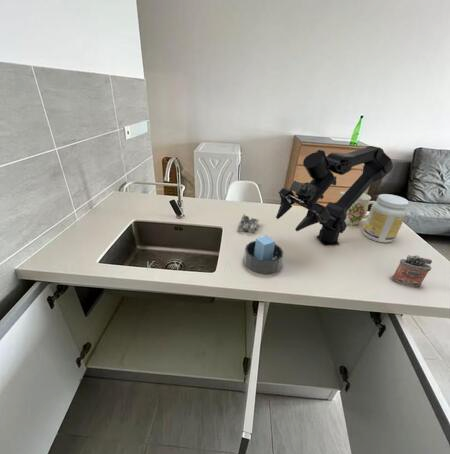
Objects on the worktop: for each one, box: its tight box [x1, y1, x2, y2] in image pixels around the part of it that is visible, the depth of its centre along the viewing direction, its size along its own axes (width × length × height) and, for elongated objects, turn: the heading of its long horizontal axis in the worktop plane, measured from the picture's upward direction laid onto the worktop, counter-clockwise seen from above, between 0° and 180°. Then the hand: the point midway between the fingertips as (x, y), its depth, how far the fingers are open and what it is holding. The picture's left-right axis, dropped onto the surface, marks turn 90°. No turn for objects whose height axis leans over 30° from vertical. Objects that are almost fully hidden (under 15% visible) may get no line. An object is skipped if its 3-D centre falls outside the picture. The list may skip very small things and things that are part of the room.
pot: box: [243, 240, 284, 275], centre depth 81 cm, size 12×12×6 cm
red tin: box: [390, 254, 433, 289], centre depth 75 cm, size 8×3×10 cm, turn 69°
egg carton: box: [238, 213, 260, 234], centre depth 103 cm, size 11×8×4 cm
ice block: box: [254, 234, 276, 261], centre depth 80 cm, size 4×4×9 cm
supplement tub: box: [362, 193, 410, 243], centre depth 99 cm, size 12×12×17 cm
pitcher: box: [339, 190, 376, 226], centre depth 110 cm, size 11×18×14 cm, turn 82°
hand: (286, 224), depth 79 cm, fingers open, 9 cm apart
